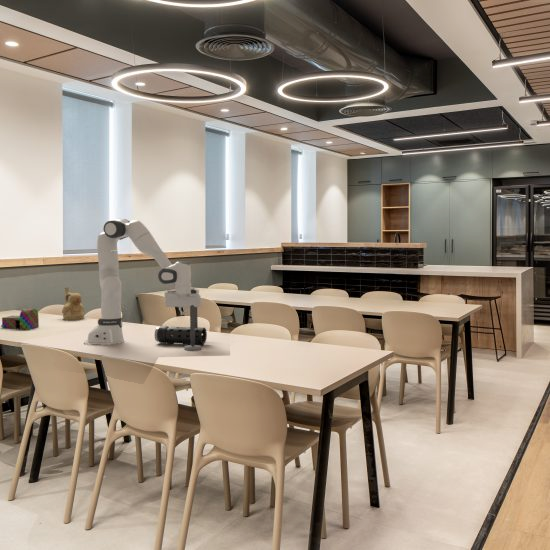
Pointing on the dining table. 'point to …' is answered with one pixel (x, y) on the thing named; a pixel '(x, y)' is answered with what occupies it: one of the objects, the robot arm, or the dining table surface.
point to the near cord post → (192, 332)
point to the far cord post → (196, 318)
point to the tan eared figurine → (72, 306)
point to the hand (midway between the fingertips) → (183, 314)
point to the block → (22, 320)
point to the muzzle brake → (179, 335)
